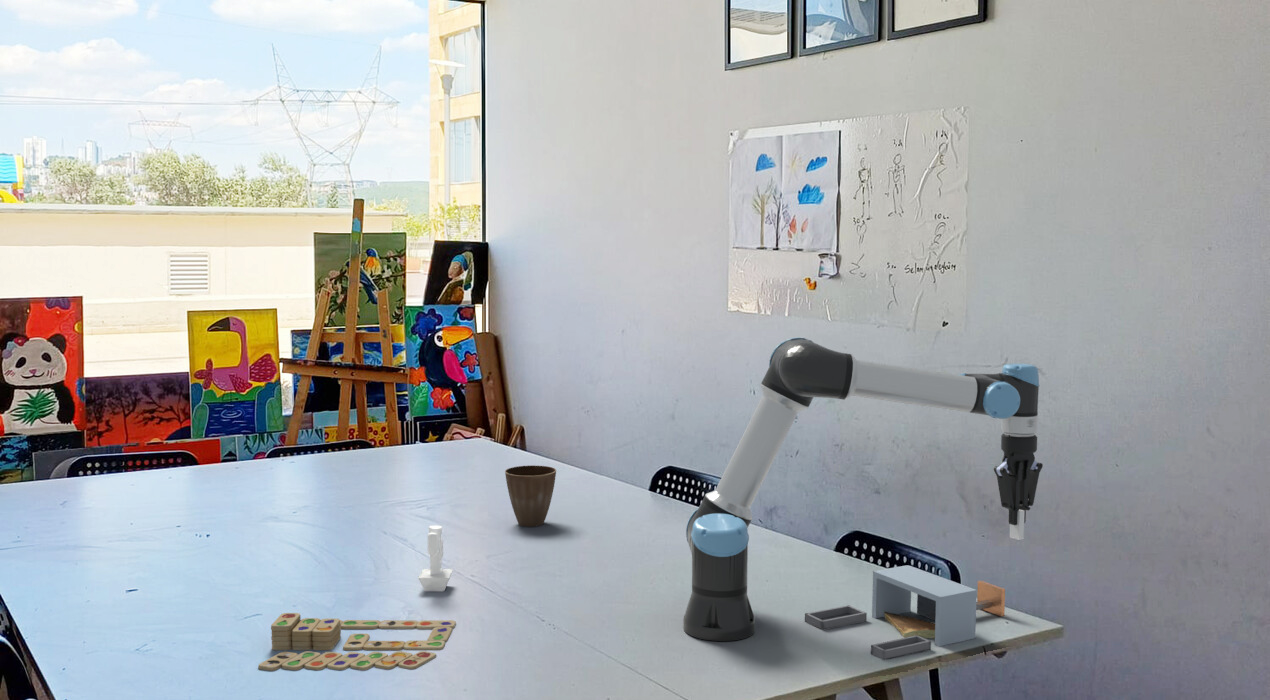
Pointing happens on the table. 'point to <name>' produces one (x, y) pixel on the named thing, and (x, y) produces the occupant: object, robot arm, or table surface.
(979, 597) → the plunger
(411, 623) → the pile of dominoes
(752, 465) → the robot arm
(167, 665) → the table surface
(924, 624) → the pizza slice
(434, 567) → the figurine
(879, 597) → the tunnel
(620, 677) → the table surface
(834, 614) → the tray
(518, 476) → the plant pot
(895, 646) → the tray
